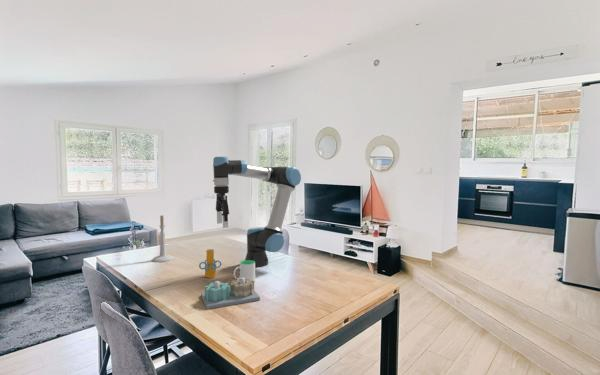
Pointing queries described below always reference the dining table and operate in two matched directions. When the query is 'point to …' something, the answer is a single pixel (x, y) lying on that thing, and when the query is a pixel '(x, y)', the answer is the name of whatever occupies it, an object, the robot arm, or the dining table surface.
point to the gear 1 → (217, 292)
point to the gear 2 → (242, 288)
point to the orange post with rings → (210, 264)
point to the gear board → (229, 298)
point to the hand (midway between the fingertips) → (222, 225)
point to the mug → (246, 270)
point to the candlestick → (162, 245)
